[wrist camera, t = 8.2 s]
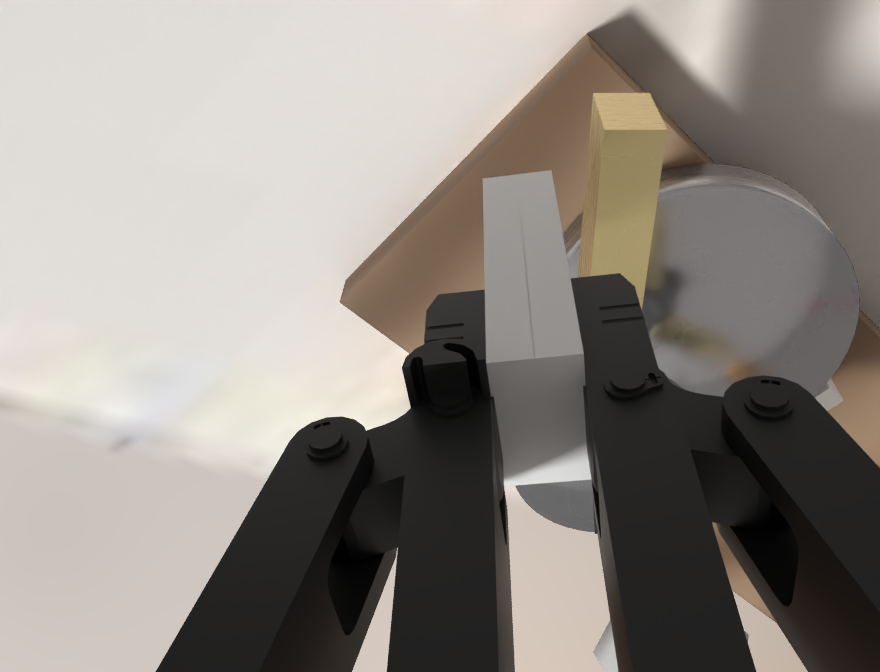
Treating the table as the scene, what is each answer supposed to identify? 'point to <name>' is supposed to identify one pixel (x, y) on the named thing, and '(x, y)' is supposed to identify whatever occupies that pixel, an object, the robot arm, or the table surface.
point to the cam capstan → (704, 270)
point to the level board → (565, 153)
